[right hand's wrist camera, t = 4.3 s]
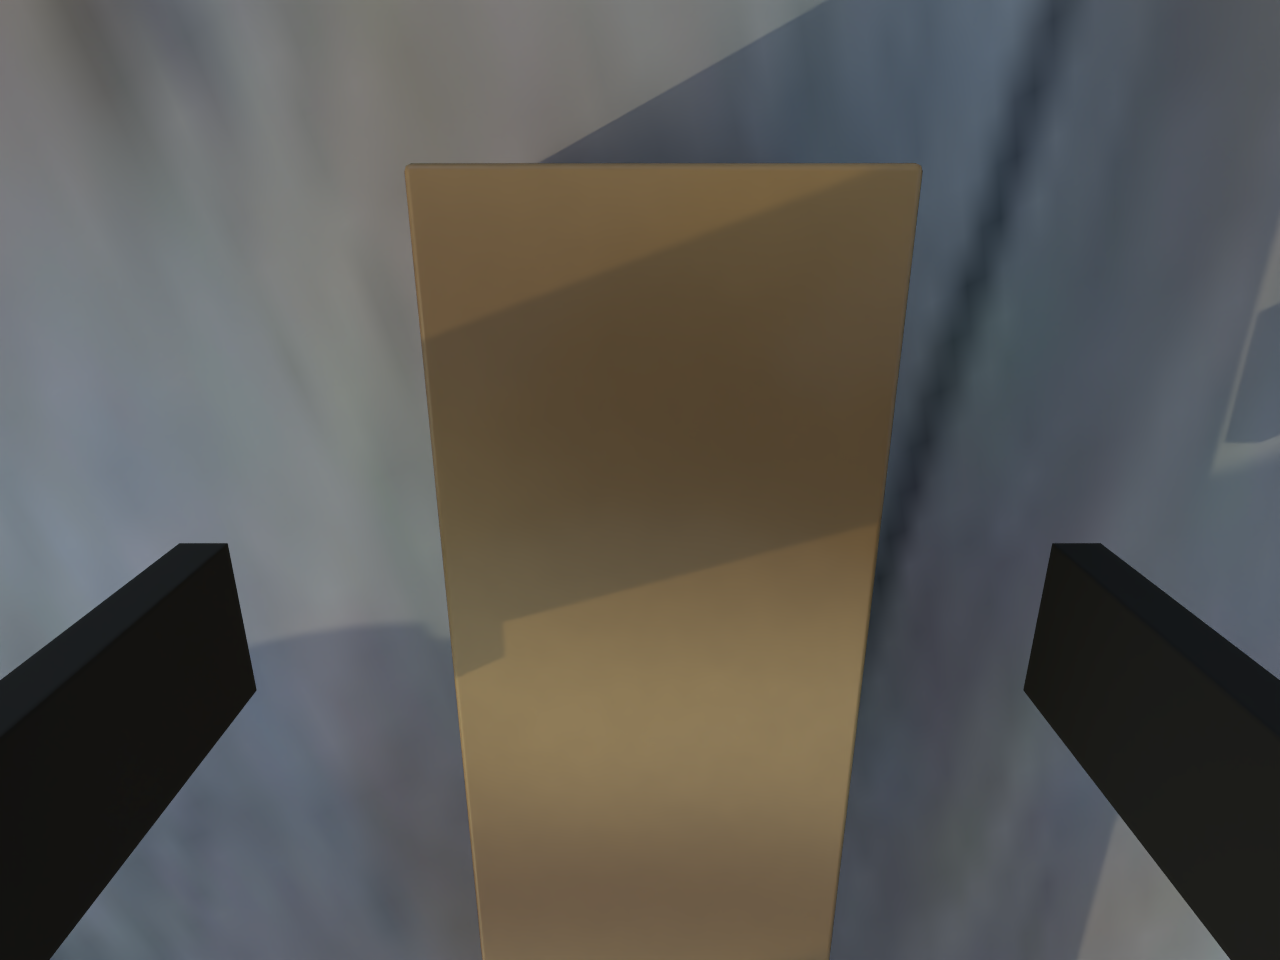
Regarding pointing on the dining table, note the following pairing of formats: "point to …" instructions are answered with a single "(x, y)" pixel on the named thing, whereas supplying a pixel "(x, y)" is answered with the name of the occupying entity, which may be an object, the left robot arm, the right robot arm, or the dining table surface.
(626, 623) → the post
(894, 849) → the dining table surface
